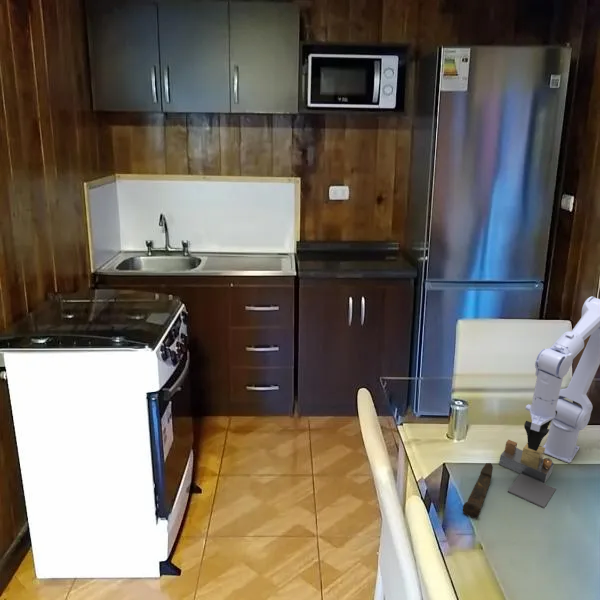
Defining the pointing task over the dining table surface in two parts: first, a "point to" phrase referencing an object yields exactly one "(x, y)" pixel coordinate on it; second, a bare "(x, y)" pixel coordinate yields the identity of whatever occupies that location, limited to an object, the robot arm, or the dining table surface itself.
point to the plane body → (513, 462)
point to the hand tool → (478, 492)
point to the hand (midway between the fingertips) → (536, 441)
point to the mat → (532, 490)
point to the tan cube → (533, 456)
